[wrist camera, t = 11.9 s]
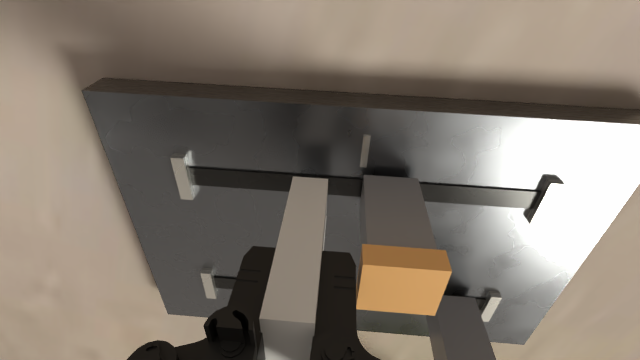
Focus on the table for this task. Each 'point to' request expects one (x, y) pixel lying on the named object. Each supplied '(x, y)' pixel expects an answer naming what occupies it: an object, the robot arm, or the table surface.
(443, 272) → the fader orange
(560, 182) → the console
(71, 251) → the table surface
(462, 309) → the fader white
